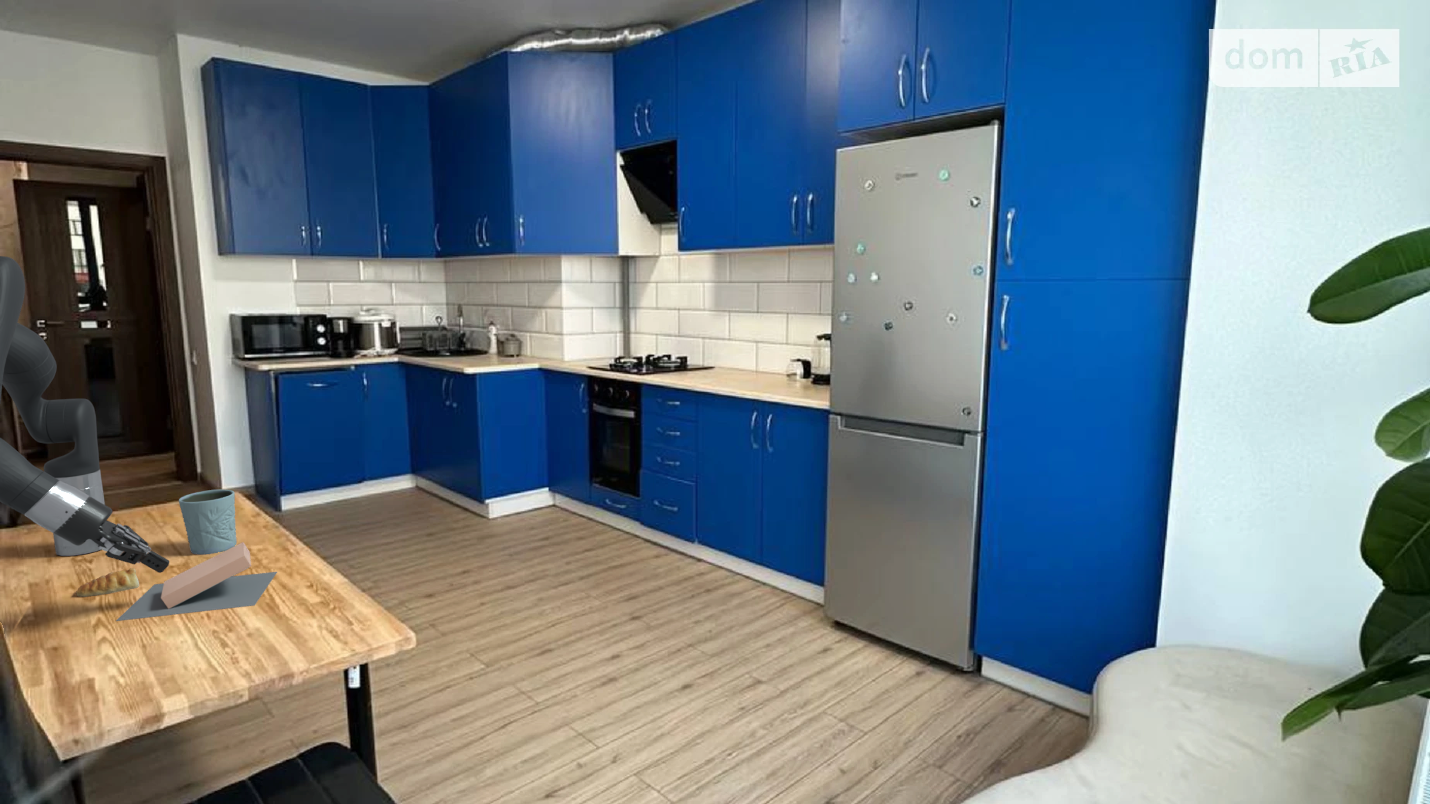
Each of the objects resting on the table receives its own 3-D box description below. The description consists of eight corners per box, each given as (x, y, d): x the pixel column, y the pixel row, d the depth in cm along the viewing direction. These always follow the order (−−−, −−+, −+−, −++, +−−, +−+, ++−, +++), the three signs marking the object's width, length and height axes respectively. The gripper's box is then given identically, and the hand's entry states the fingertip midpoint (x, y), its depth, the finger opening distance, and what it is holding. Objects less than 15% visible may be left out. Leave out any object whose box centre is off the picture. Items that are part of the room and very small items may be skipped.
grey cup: (248, 545, 171) (243, 493, 169) (198, 559, 162) (192, 504, 160) (225, 537, 176) (220, 487, 174) (175, 550, 168) (169, 497, 166)
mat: (154, 587, 147) (154, 584, 147) (277, 574, 153) (277, 571, 153) (116, 624, 131) (115, 620, 131) (254, 608, 137) (254, 605, 137)
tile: (160, 598, 135) (244, 555, 141) (164, 581, 143) (243, 541, 149) (169, 609, 136) (251, 566, 142) (171, 592, 144) (250, 552, 150)
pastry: (78, 605, 140) (75, 585, 139) (75, 594, 145) (73, 575, 144) (142, 591, 146) (139, 571, 146) (137, 581, 151) (134, 562, 150)
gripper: (80, 504, 126) (179, 561, 134) (92, 486, 137) (183, 540, 145) (43, 541, 124) (146, 597, 132) (58, 520, 135) (152, 573, 143)
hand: (165, 567), depth 139 cm, fingers closed
